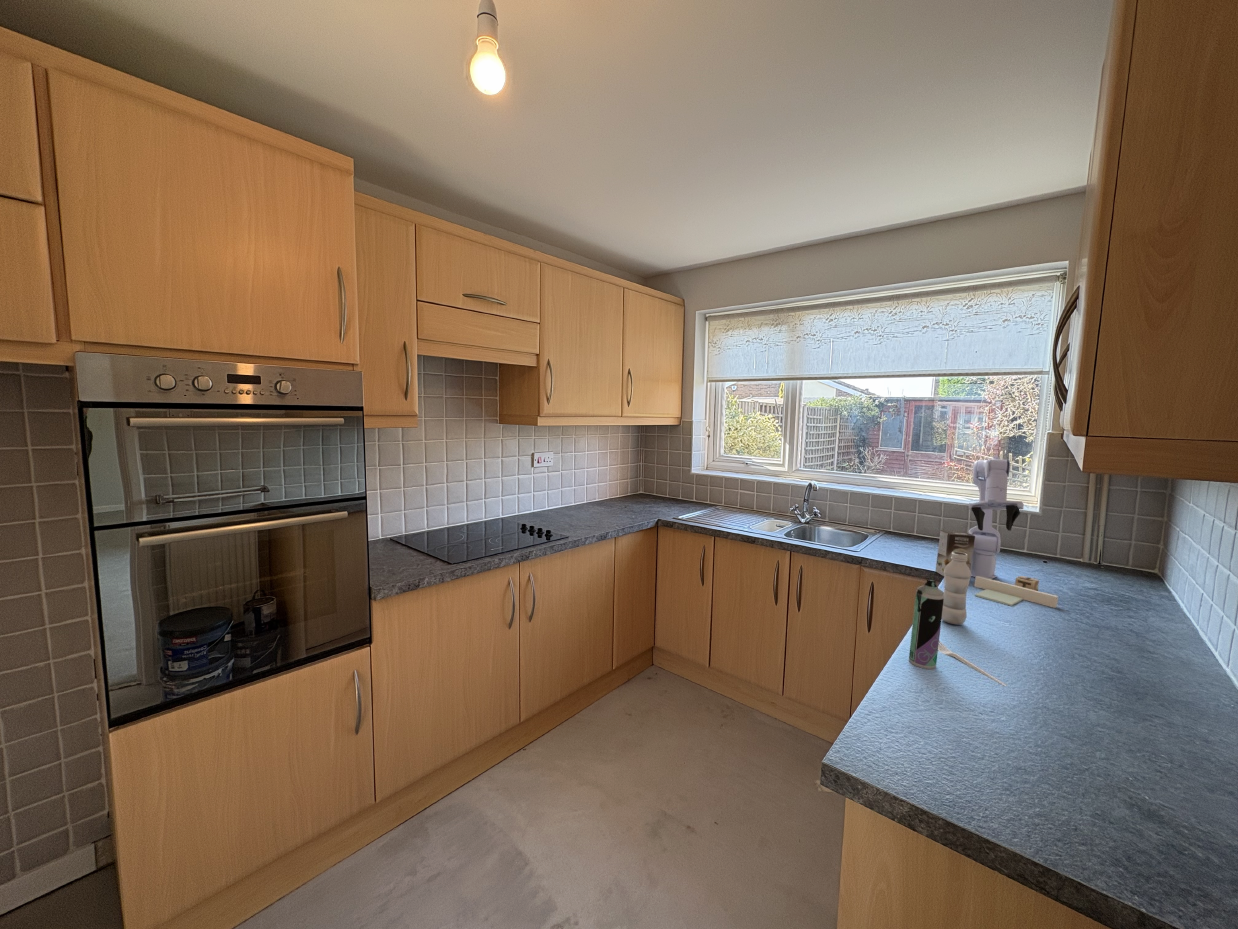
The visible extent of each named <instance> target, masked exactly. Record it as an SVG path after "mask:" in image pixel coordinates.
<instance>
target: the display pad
mask: <svg viewBox="0 0 1238 929" xmlns="http://www.w3.org/2000/svg"><path fill="white" fill-rule="evenodd" d="M974 596H975V597H978V598H981V599H985V600H988V601H992V602H995V603H998V604H1003V605H1005V606H1008V607H1009V606H1010V607H1013V606H1015V605H1016V604H1018V603H1020V602H1022V601H1023V598H1019V597H1015V596H1011V595H1008V594H1004V593H1000V592H996V591H993V590H989V589H983V590H981V591H979V592H977V593H974Z"/></svg>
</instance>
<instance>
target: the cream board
mask: <svg viewBox="0 0 1238 929" xmlns="http://www.w3.org/2000/svg"><path fill="white" fill-rule="evenodd" d="M974 579H975V580H974V587H975V588H979V589H983V590H985V589H989V590H993V591H996V592H1000V593H1004V594H1008V595H1011V596H1015V597H1019V598H1023V600H1024V601H1029V602H1031V603H1035V604H1039V605H1043V606H1046V607H1051V608H1054V609H1055V608H1057V607H1058V599H1059V596H1058V595H1055V594H1051V593H1047V592H1042V591H1039V590H1038V591H1035V590H1031V589H1027V588H1023V587H1019V586H1015V584H1011V583H1007V582H1004V581H1003V582H1002V581H999V580H995V579H987V578H983V577H979V576H976V577H974ZM1023 600H1022V601H1023Z"/></svg>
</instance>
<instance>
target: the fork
mask: <svg viewBox="0 0 1238 929" xmlns="http://www.w3.org/2000/svg"><path fill="white" fill-rule="evenodd" d="M938 652H940V653H942V654H943V655H945V656H950V657H953V658H955V659H957V660H958V661H960V662H961V663H964V664H965V665H967V666H968V667H970V668H972V669H974V670H975V671H976V672H979V673H981V674H983V675H984V676H986V677H988V678H990V679H992V680H993V681H994V682H996V683H998V684H1000V685H1002V686H1004V687H1007V684H1005V683H1004V682H1003V681H1001V680H999V679H997V678H996V677H995V676H993V675H991V674H989V673H988V672H987V671H985V670H983V669H982V668H980V667H978V666H976V665H975V664H974V663H972V662H971V661H970V660H967V659H965V657H963V656H961V655H959V654H958V653H956V652H953V651H951V650H950V649H949V648H948V647H946V646H945V645H944V644H943V643H942V642H941V641H940V640H939V645H938Z"/></svg>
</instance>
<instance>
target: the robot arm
mask: <svg viewBox="0 0 1238 929" xmlns="http://www.w3.org/2000/svg"><path fill="white" fill-rule="evenodd" d="M972 468H973V469H972V484H973V485H974V486H976V487H977V488H978V489H977V490H978V493H979V497H978V501H976V502H971V503H970V502H969V503H968V510H970V511H971V512H972V513H973V515H974V518H975V520H976V524H977V525H976V526H974V527H971V528H970V529H969V530H968V532H967V533H969V534H972V535H974V536H975V541H974V548H973V555H972V563H971V570H970V571H971V578H972V577H973V578H976V576H979V577H983V578H987V579H991V580H994V579H995V578H997V577H998V575H997V574H995V573H996V565H997V557H996V555H998V554H999V553H1000V551H1001V544H1002V542H1001V541H1002V540H1001V534H1000V532H999V531H998V530H997V529H996V528H994V527H993V510H1005V511H1006V521H1005V529H1007V531H1010V532H1011V531H1012V528H1013V526H1014V523H1015V521H1016V519H1017V518H1018V517H1019V516H1020V515H1021V511H1020V510H1024V506H1025V505H1024V503H1023V501H1021V500H1020V501H1019V500H1018V501H1017V500H1007V499H1008V498H1007V495H1008V494H1007V493H1008V477H1009V474H1010V471H1011V460H1010V459H1009V458H1008V459H1002V458H1001V457H999V456H992V458H989V459H981V460H979V459H978V460H976V461H974V462H973V467H972Z"/></svg>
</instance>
